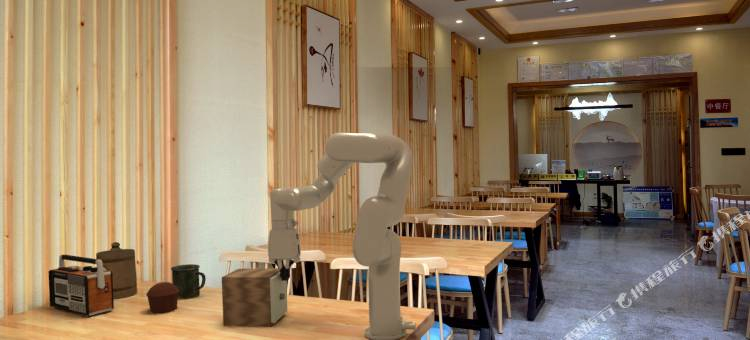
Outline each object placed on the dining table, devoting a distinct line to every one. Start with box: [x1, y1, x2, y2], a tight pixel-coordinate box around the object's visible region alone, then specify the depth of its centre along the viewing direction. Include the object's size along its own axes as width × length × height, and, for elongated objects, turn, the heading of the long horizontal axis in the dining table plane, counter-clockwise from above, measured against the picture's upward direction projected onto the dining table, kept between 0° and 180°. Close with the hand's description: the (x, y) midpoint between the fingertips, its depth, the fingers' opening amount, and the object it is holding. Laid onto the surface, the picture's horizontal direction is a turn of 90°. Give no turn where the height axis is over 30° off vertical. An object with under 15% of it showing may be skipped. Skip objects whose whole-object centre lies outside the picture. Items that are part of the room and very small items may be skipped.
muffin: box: [146, 281, 180, 315], centre depth 199 cm, size 12×11×10 cm
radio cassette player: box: [47, 254, 115, 318], centre depth 202 cm, size 29×10×20 cm, turn 56°
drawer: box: [270, 272, 288, 324], centre depth 182 cm, size 17×14×14 cm
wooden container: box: [95, 241, 138, 300], centre depth 225 cm, size 15×15×22 cm
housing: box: [221, 268, 280, 328], centre depth 182 cm, size 16×14×16 cm
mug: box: [170, 263, 207, 300], centre depth 218 cm, size 11×15×12 cm
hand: (285, 279), depth 180 cm, fingers closed
